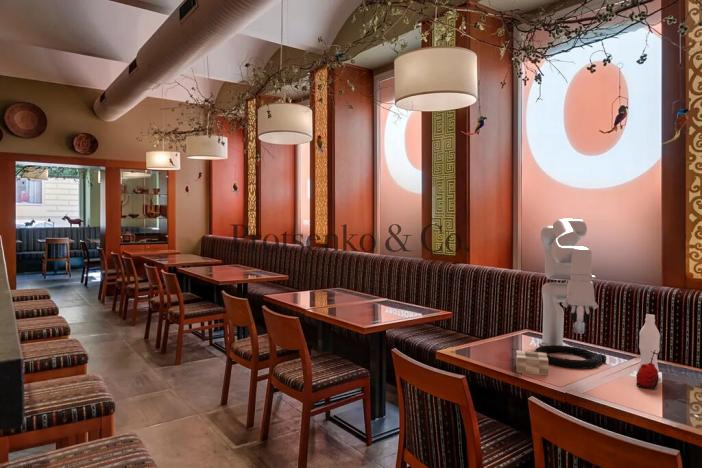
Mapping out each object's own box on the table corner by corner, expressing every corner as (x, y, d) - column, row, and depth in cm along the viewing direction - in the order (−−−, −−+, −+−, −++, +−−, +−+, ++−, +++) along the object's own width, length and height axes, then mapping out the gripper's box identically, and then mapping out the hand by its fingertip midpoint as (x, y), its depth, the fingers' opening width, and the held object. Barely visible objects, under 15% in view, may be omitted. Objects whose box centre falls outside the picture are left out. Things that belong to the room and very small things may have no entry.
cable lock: (529, 342, 233) (596, 346, 227) (529, 350, 233) (596, 354, 227) (540, 358, 205) (616, 363, 199) (539, 367, 206) (615, 372, 200)
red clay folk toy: (646, 382, 187) (647, 344, 186) (663, 389, 180) (664, 349, 180) (631, 384, 184) (632, 346, 184) (648, 391, 178) (649, 351, 177)
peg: (573, 331, 199) (574, 297, 199) (583, 331, 198) (584, 298, 198) (575, 333, 196) (576, 299, 195) (584, 333, 195) (585, 299, 194)
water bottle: (635, 375, 196) (637, 314, 195) (641, 371, 200) (643, 312, 199) (655, 379, 190) (657, 317, 189) (661, 376, 195) (663, 315, 194)
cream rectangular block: (516, 363, 209) (516, 350, 209) (545, 366, 205) (546, 352, 205) (516, 372, 198) (517, 357, 197) (548, 375, 194) (548, 360, 194)
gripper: (601, 278, 197) (599, 322, 198) (557, 276, 202) (556, 319, 203) (605, 280, 190) (603, 326, 191) (560, 278, 195) (558, 323, 195)
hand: (579, 322), depth 197 cm, fingers closed on peg, 3 cm apart
